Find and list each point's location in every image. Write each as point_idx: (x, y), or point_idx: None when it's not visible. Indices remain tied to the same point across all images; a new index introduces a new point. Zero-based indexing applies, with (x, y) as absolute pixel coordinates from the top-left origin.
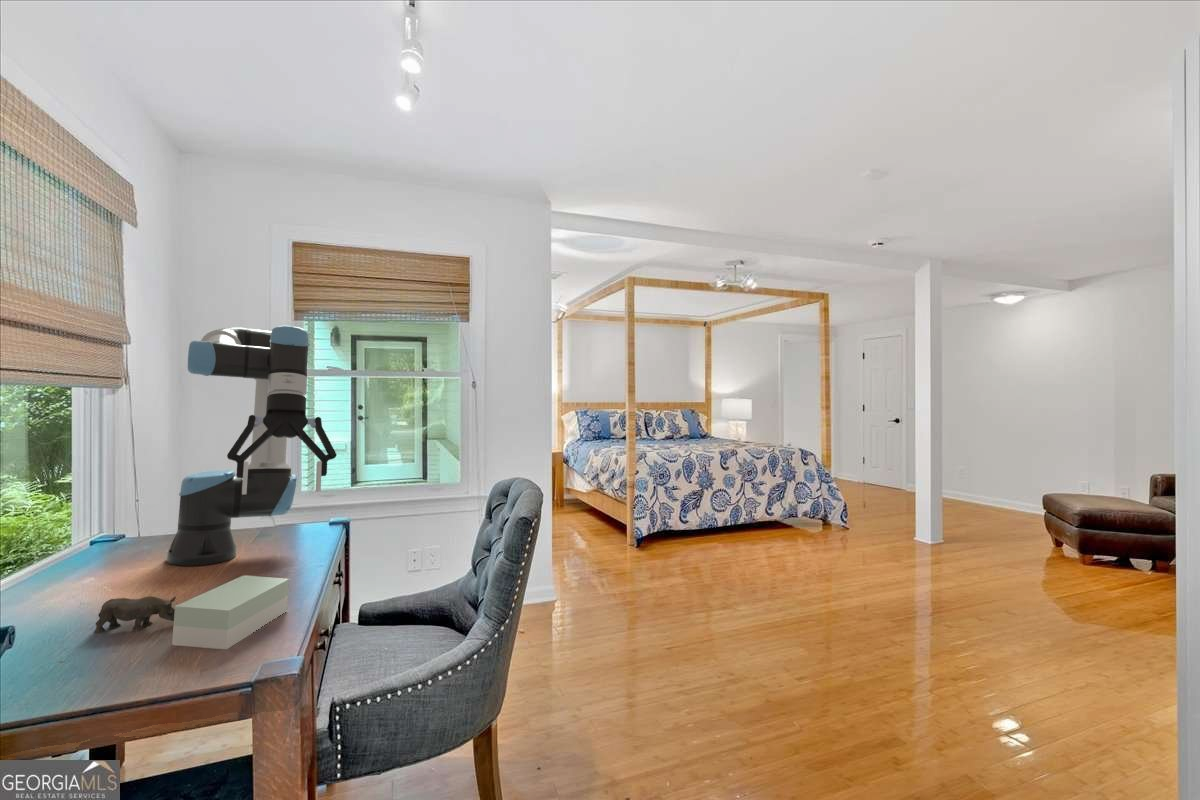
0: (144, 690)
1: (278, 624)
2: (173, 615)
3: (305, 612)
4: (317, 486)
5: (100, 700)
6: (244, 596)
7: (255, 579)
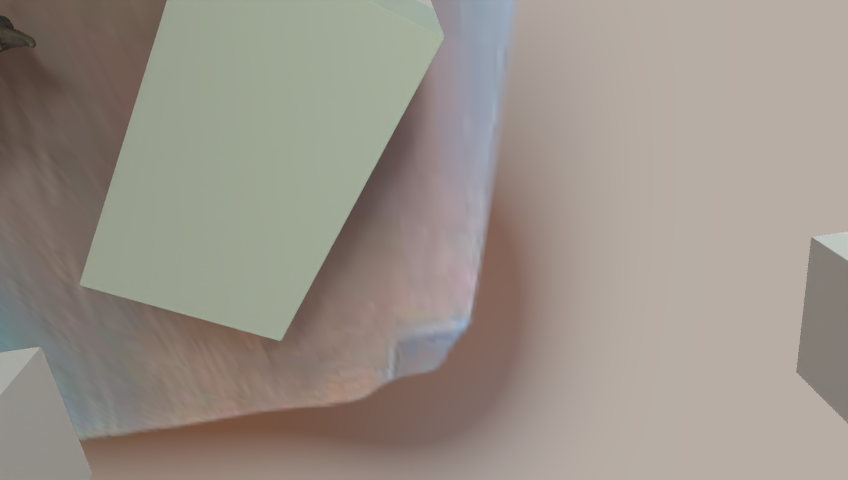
0: (181, 399)
1: (405, 110)
2: (1, 51)
3: (495, 9)
4: (834, 401)
5: (115, 417)
6: (293, 231)
7: (280, 13)
